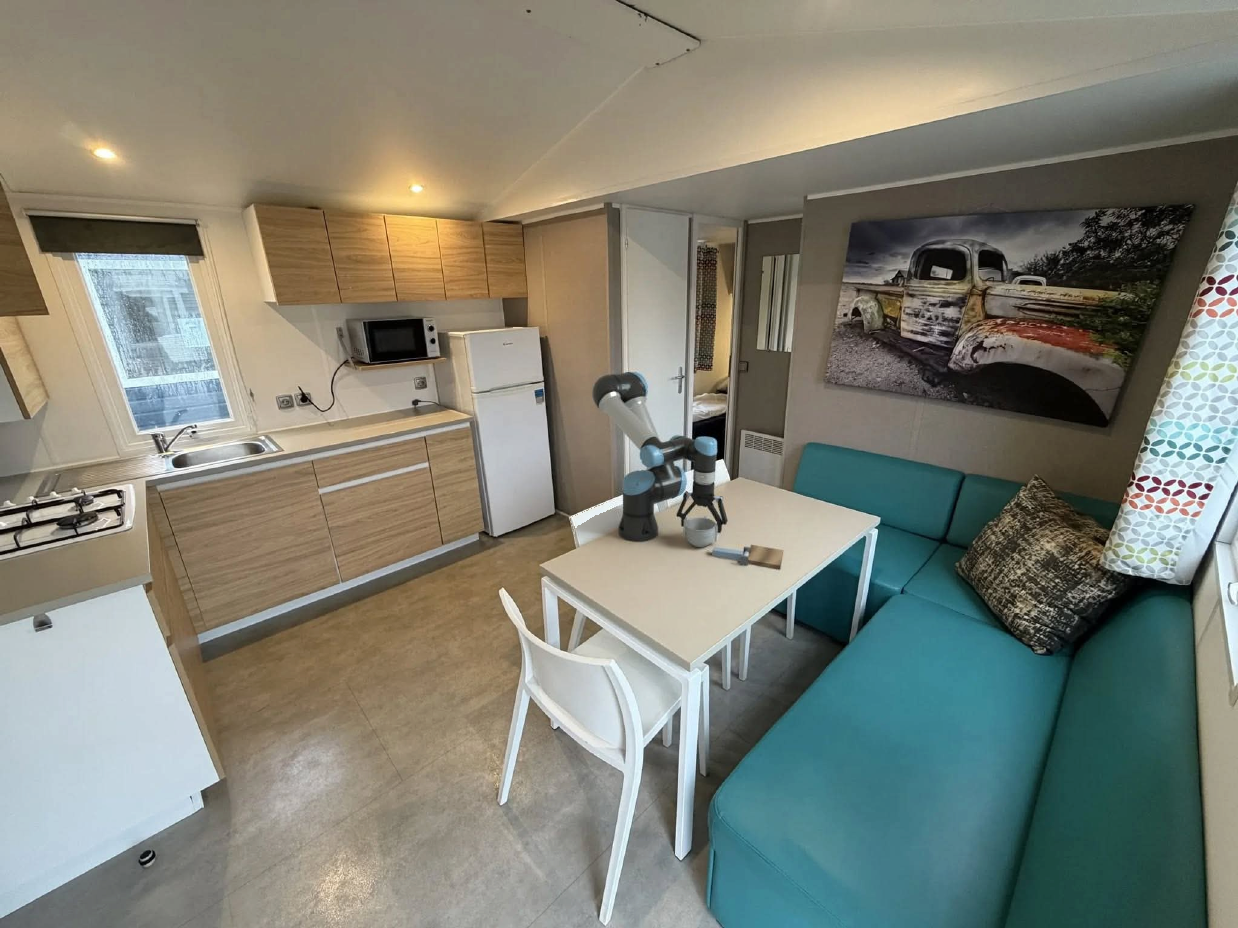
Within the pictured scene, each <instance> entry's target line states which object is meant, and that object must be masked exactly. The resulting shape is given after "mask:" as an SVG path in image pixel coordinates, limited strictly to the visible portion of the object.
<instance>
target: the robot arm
mask: <svg viewBox="0 0 1238 928" xmlns="http://www.w3.org/2000/svg"><path fill="white" fill-rule="evenodd" d="M593 384H594V385H593V386H592V391H591V394H592V400H593V402H594V404H595V406H596V407H597V409H598V410H599V411H600V412H601V413H603V414H604V413H605V414H606V415H607V416H608V417H609V418H610V419H611V421H612V422H614V423H615V425H617V427H618V428H619V429H620V430H621V431H622V432H623V433H624V435H626V437H628V438H629V440H630V441H631V442H632V444H633V445H634V446H636V447H637V449H638V450H639V458H640V460H641V464H642V465H643V466H645V467H646V468H645V469H642V470H634V471H630V472H629V473H627V474H626V475H625V476H624V477H623V480H622V487H621V490H622V515H621V518H620V520H619V525H618V535H619V536H620V537H621V538H622V539H624V540H627V541H631V542H645V541H646V542H647V541H650V540H653V539H655V538H657V536H658V535H659V525H658V522H657V519H656V516H655V511H654V510H655V504H656V505H657V504H658V503H661V502H664V501H668V500H671V499H675V498H677V497H679V496H682V501H681V503H680V505H679V507H678V509H677V512H676V514H675V516H676V517H677V518H680V526H681V527H683V528H682V529H683V532H682V533H683V534H682V536H684V537H686V526H685V522H686V521H687V520H689V519H688V518H689V517H688V515H689V514H690V512H691V511H692V509H693V508H695V507H696V505H697V506H698V507H704V508H707V509H708V510H709V512H710V513H711V515H712V516H713V519H714V520H715V523H716V526H715V539H714V541H713V542H715V543H717V541H719V534H721V533H722V529H723V525H725V526H726V525H727V524H728V522H729V521H728V517H727V513H726V509H725V506H724V497H723V496H721V495H720V496H716V495H715V481H716V480H715V479H716V465H717V464H716V463H717V455H718V454H717V453H718V441H717V439H716V438H714V437H711V436H703V435H702V436H697V437H696V438H695V439H693V438H690V437H687V436H684V435H679V434H676V435H673V436H672V437H671V438H670V439H669V440H667V441H661V439H660V437H659V434H658V432H657V429H656V427H655V425H654V423H653V420H652V418H651V416H650V413H649V411H648V407H647V406H646V403H647V396H648V393H649V390H648V388H649V386H648V382H647V380H646V379H645V377H644V376H643V375H642V374H641V373H640V372H637V371H626V372H620V373H612V374H604V375H602V376H600V377H599V378H598V379H597V380H596V381H595V383H593ZM680 460H687V461H689V462H693V473H692V475H693V476H692V480H693V481H692V491H691V492H689V491H687V490H686V487H687V484H688V481H687V480H688V479H687V475H686V472H685V471H684V469H683V468H681V466H678V465H676V464H675V462H678V461H680ZM690 497H691V499H692V502H691V504H690V505H689V506H688V508H687V509H686V510H685V511H684V508H685V506H686V503H687V501H688V500H689V499H690ZM714 501H715V503H717V507H718V510H719V511H718V510H717V509H716V507H715V504H714ZM683 511H684V513H683Z"/></svg>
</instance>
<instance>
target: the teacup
mask: <svg viewBox="0 0 1238 928" xmlns="http://www.w3.org/2000/svg"><path fill="white" fill-rule="evenodd" d="M716 523H717V522H716V521H714V520H713V519H711V518H710V516H708V515H704V516H702V517H699V516H698V517H693V518H689V519H688V520H687V521H686V522H685V526H686V536H685V537H686V541H688V543H689V544H691V545H692V546H694V547H697V548H704V547H707V546H709V545H710V544H712V543H713V542H714V541H715V527H716Z"/></svg>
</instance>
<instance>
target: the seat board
mask: <svg viewBox="0 0 1238 928" xmlns="http://www.w3.org/2000/svg"><path fill="white" fill-rule="evenodd" d="M750 548H751V553H749V555H748V565H749V564H750V565H754V566H755V565H756V566H759V567H760V566H761V567H765V568H771V569H776V570H781V568H782V562H783V557H784V549H778V548H773V547H767V546H762V545H755V544H750Z"/></svg>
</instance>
